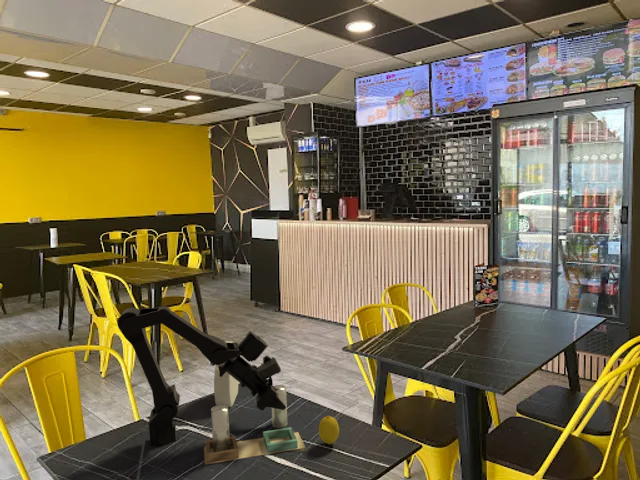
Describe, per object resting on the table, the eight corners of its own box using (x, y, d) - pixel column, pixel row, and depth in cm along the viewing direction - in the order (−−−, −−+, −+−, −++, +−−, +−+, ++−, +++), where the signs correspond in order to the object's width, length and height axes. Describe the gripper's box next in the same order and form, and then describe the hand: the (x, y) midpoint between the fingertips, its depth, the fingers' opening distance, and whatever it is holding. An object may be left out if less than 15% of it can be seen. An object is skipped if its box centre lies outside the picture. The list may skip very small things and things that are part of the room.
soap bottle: (231, 410, 159) (228, 349, 157) (215, 411, 159) (211, 350, 157) (240, 390, 175) (237, 335, 173) (225, 391, 175) (222, 335, 173)
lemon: (322, 450, 132) (321, 421, 131) (316, 441, 137) (315, 413, 136) (342, 447, 133) (341, 418, 133) (336, 437, 139) (335, 410, 138)
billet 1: (213, 458, 128) (211, 413, 127) (212, 449, 132) (210, 406, 131) (231, 455, 129) (228, 410, 128) (229, 447, 134) (227, 404, 132)
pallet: (205, 468, 125) (204, 456, 125) (204, 450, 134) (203, 440, 134) (305, 451, 132) (305, 440, 132) (298, 435, 141) (297, 425, 140)
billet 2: (273, 432, 143) (272, 391, 142) (271, 425, 148) (269, 386, 146) (288, 429, 144) (287, 389, 143) (286, 423, 149) (284, 384, 148)
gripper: (267, 361, 134) (308, 396, 137) (259, 342, 152) (296, 373, 155) (238, 393, 133) (281, 427, 136) (234, 370, 151) (272, 400, 154)
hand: (283, 405), depth 146 cm, fingers closed on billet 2, 4 cm apart
